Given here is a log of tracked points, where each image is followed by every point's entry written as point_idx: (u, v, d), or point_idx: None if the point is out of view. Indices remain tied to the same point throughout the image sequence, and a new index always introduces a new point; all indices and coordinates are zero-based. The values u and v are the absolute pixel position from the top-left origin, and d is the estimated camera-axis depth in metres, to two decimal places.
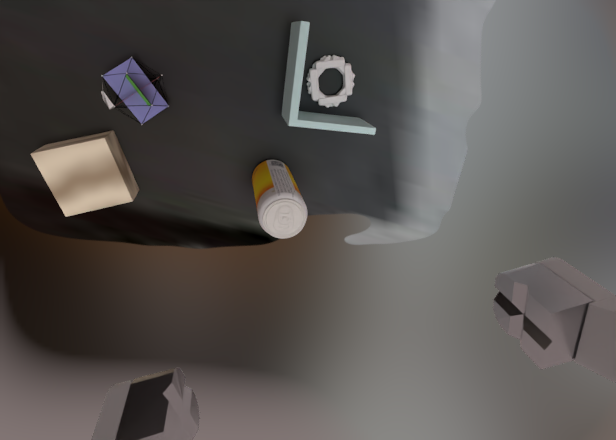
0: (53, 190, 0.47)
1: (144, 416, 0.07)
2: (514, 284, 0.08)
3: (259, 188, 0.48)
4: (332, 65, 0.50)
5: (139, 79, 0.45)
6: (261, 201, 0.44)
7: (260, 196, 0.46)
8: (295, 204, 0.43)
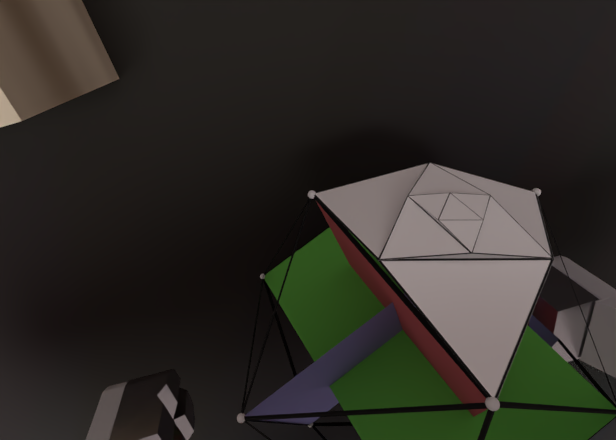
0: None
1: (138, 418, 0.07)
2: None
3: None
4: None
5: None
6: None
7: None
8: None
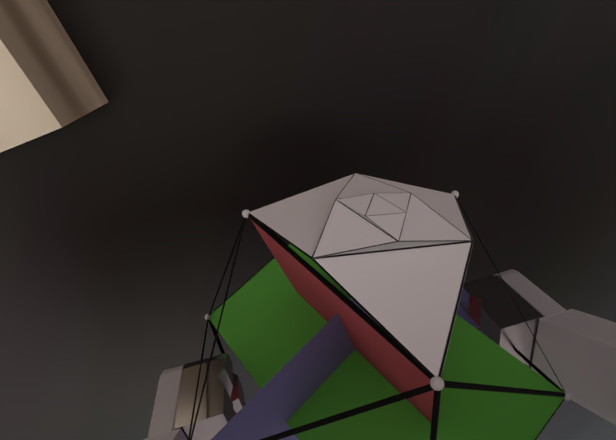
0: None
1: None
2: (469, 297, 0.08)
3: None
4: None
5: None
6: None
7: None
8: None
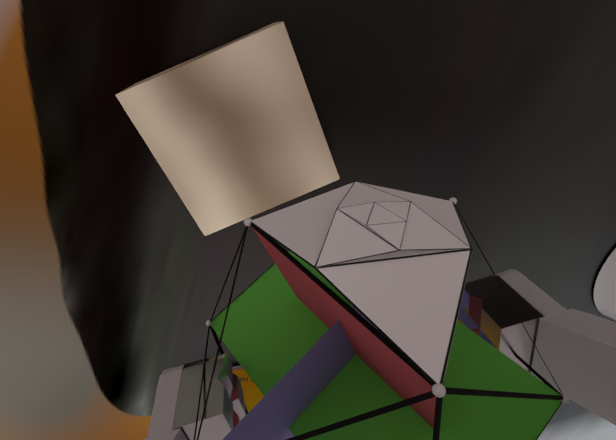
0: (190, 69, 0.18)
1: (201, 399, 0.07)
2: (469, 297, 0.08)
3: None
4: None
5: None
6: None
7: None
8: None
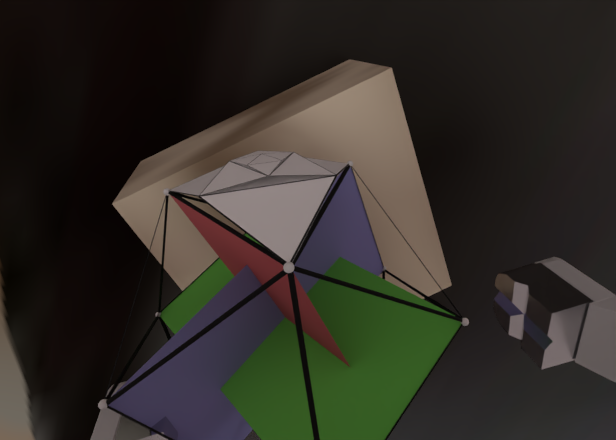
0: (236, 153, 0.11)
1: None
2: (514, 284, 0.08)
3: None
4: None
5: None
6: None
7: None
8: None
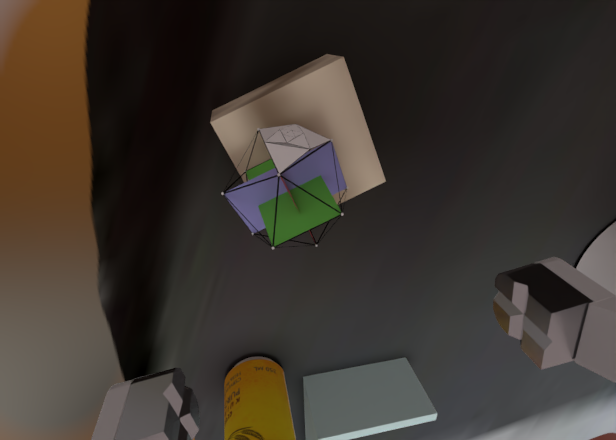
0: (269, 98, 0.22)
1: (144, 416, 0.07)
2: (514, 284, 0.08)
3: (282, 439, 0.29)
4: None
5: None
6: None
7: None
8: None
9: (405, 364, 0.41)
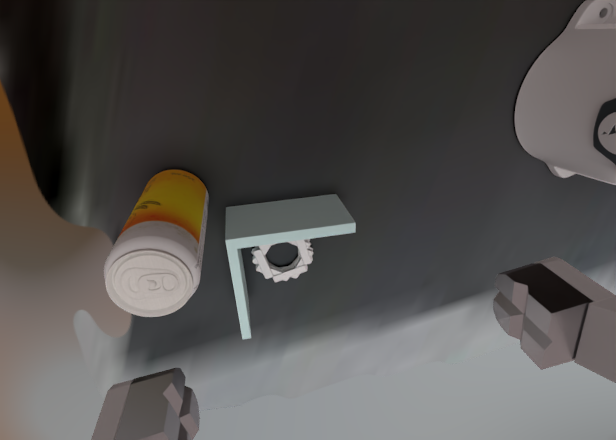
0: None
1: (144, 416, 0.07)
2: (514, 284, 0.08)
3: (182, 209, 0.28)
4: (302, 252, 0.41)
5: None
6: (174, 234, 0.24)
7: (176, 223, 0.26)
8: (182, 295, 0.25)
9: (334, 197, 0.39)
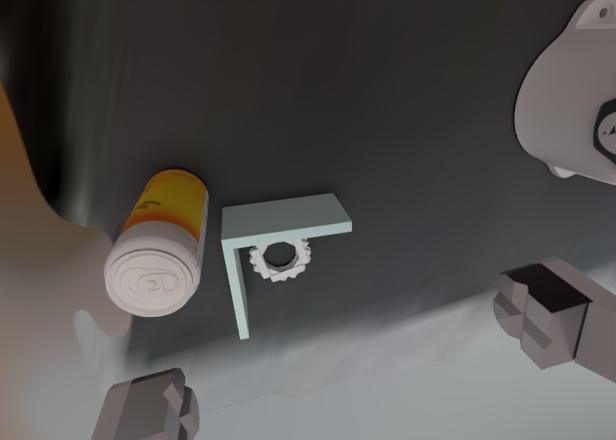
0: None
1: (144, 416, 0.07)
2: (514, 284, 0.08)
3: (182, 209, 0.28)
4: (300, 251, 0.41)
5: None
6: (174, 234, 0.24)
7: (176, 223, 0.26)
8: (182, 295, 0.25)
9: (330, 196, 0.39)
